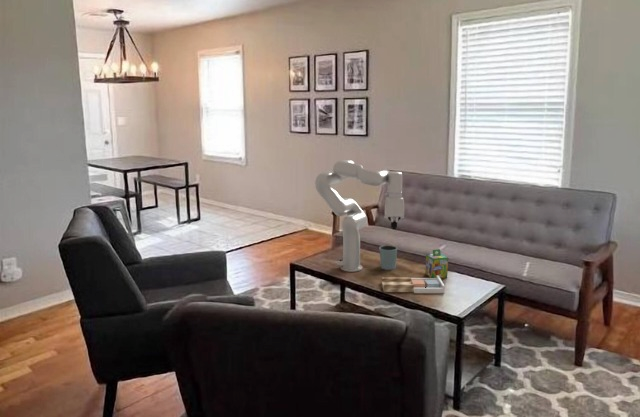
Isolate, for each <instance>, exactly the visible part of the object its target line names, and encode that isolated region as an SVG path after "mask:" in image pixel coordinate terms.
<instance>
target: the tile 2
mask: <svg viewBox="0 0 640 417" xmlns="http://www.w3.org/2000/svg"><path fill="white" fill-rule="evenodd" d="M425 287H426V288H439V283H438V282H437V280H425Z"/></svg>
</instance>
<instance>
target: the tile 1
mask: <svg viewBox="0 0 640 417" xmlns="http://www.w3.org/2000/svg"><path fill="white" fill-rule="evenodd" d="M411 283H412V284H414V288H425V283H424V281H423V280H411Z"/></svg>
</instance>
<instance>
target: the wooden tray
mask: <svg viewBox="0 0 640 417" xmlns="http://www.w3.org/2000/svg"><path fill="white" fill-rule="evenodd" d="M411 278H412V277H406V276H405V277H403V276H402V277H397V276H396V277H395V276H394V277H388V276H387V277H381V287H382V290H383V293H414V284H412V283H411Z"/></svg>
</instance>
